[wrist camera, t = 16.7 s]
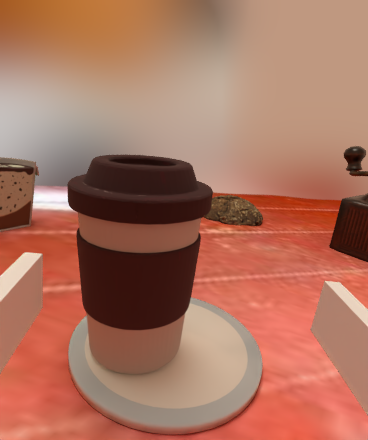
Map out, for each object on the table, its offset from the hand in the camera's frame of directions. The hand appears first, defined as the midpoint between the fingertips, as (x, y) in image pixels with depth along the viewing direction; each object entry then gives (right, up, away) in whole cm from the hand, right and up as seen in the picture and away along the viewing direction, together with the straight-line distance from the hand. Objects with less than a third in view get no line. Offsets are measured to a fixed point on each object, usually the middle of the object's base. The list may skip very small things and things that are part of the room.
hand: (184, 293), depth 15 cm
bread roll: (+10, +4, +57) cm, 58 cm away
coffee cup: (-4, -7, +12) cm, 14 cm away
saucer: (-2, -8, +13) cm, 15 cm away
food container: (-29, +2, +35) cm, 46 cm away
